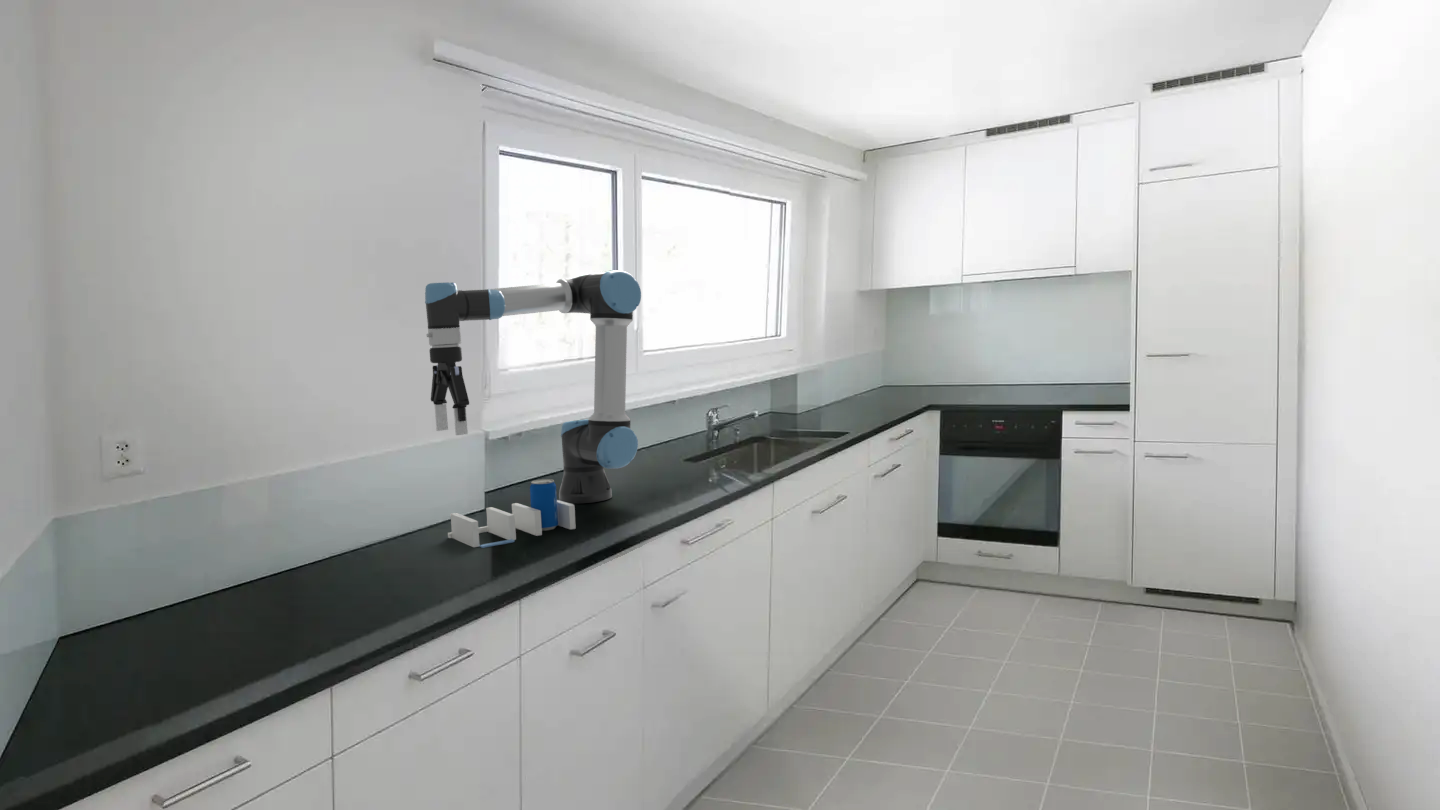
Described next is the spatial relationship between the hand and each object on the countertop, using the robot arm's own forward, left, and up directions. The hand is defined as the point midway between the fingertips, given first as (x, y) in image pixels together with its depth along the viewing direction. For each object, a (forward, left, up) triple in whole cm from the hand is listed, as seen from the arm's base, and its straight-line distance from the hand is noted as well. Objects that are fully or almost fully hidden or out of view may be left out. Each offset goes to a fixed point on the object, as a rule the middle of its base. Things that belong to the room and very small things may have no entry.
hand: (451, 432), depth 239 cm
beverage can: (-18, +11, -26) cm, 33 cm away
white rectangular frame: (-10, +10, -25) cm, 29 cm away
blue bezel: (-2, +18, -25) cm, 31 cm away
